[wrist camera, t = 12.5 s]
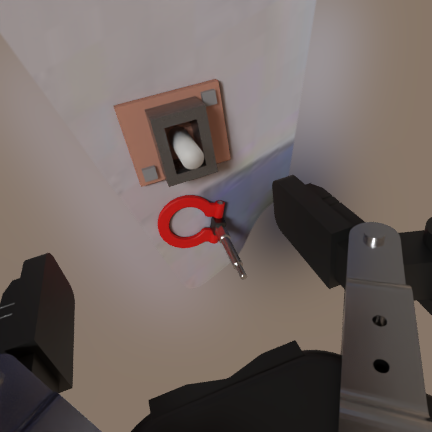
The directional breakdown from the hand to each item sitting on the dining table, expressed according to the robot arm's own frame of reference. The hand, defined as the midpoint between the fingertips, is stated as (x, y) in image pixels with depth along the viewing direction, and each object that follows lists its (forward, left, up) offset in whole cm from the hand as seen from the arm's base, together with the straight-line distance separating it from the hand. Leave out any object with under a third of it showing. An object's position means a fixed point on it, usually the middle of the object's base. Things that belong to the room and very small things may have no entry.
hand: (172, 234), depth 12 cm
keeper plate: (+8, +5, -30) cm, 32 cm away
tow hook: (+21, +4, -30) cm, 37 cm away
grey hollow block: (+8, +5, -29) cm, 31 cm away
